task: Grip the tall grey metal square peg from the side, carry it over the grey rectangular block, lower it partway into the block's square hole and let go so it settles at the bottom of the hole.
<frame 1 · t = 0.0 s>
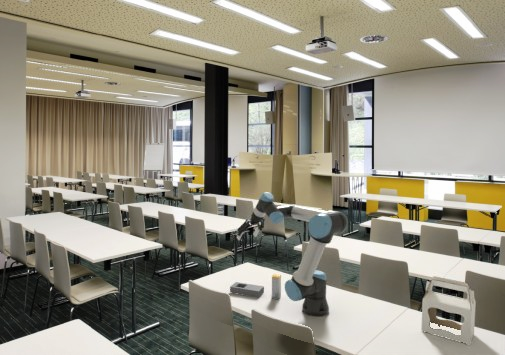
hand: (246, 237, 243), 36 cm above the table, tool tilted 35°, fingers open, 13 cm apart
steel peg: (276, 297, 236), on the table
grey rectangular block: (247, 292, 243), on the table
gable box: (447, 333, 191), on the table
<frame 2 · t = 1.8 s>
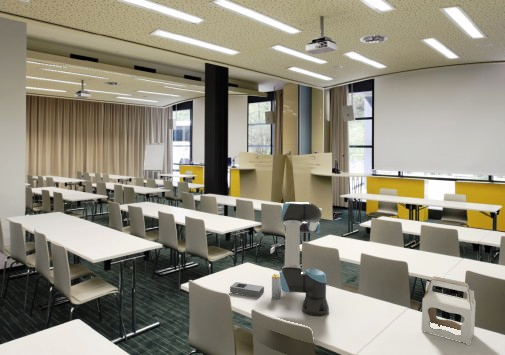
hand: (280, 252, 242), 26 cm above the table, tool horizontal, fingers open, 13 cm apart
nothing on the table moved.
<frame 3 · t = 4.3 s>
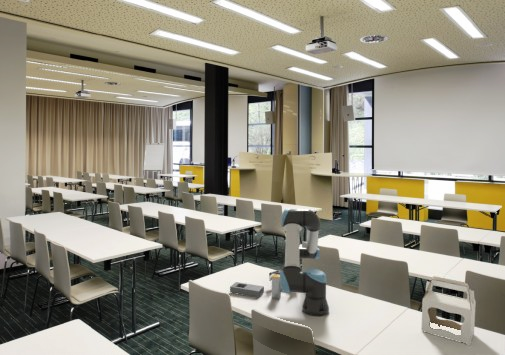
hand: (279, 280, 242), 8 cm above the table, tool horizontal, fingers open, 13 cm apart
nothing on the table moved.
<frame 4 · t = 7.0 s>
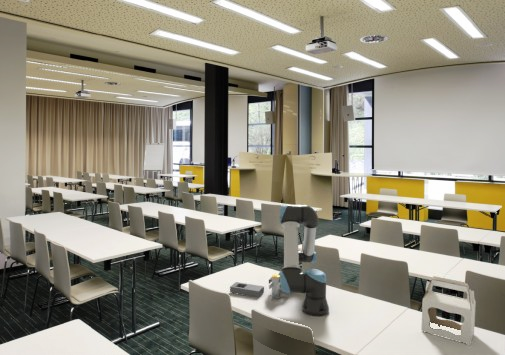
hand: (273, 287, 230), 8 cm above the table, tool horizontal, fingers closed on steel peg, 4 cm apart
steel peg: (276, 297, 236), on the table, touching gripper
everything else where it was.
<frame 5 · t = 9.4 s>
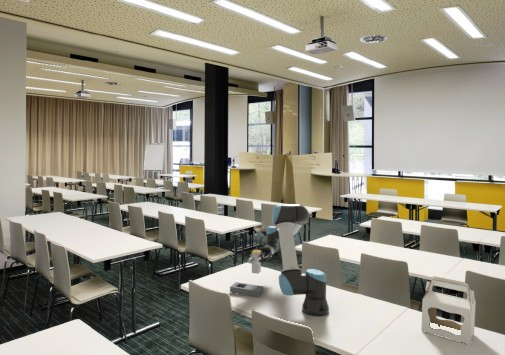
hand: (252, 261, 237), 22 cm above the table, tool horizontal, fingers closed on steel peg, 4 cm apart
steel peg: (256, 272, 243), point 13 cm above the table, touching gripper
everything else where it was.
when the fingers open (10 cm above the table, at t = 12.1 s): steel peg drops 1 cm, resting in grey rectangular block.
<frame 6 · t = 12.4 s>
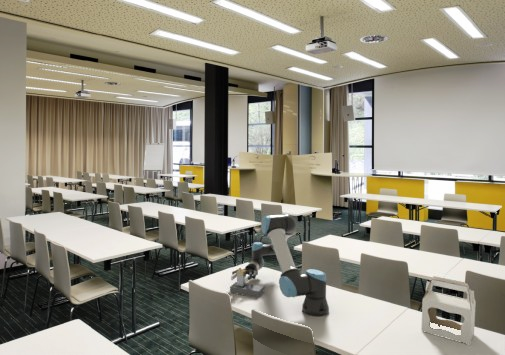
hand: (238, 279, 240), 10 cm above the table, tool horizontal, fingers open, 9 cm apart
steel peg: (241, 291, 245), resting in grey rectangular block
everything else where it was.
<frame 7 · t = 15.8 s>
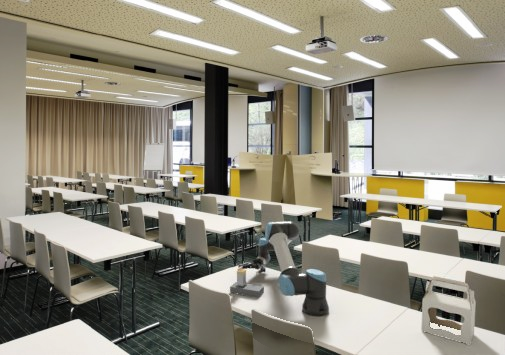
hand: (247, 272, 253), 10 cm above the table, tool horizontal, fingers open, 13 cm apart
nothing on the table moved.
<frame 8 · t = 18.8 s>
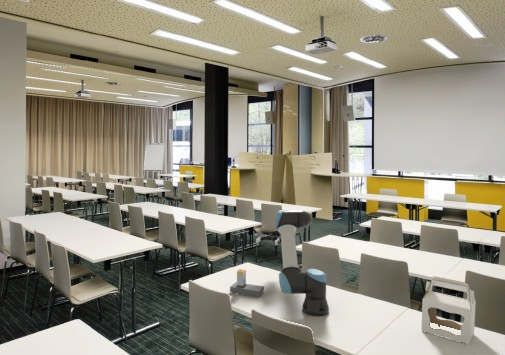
hand: (265, 242, 253), 30 cm above the table, tool horizontal, fingers open, 13 cm apart
nothing on the table moved.
at the end: steel peg 0.1 cm from the target spot on the grey rectangular block, point 0.0 cm above the grey rectangular block's base; steel peg tilted 0°; the gripper is holding nothing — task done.
